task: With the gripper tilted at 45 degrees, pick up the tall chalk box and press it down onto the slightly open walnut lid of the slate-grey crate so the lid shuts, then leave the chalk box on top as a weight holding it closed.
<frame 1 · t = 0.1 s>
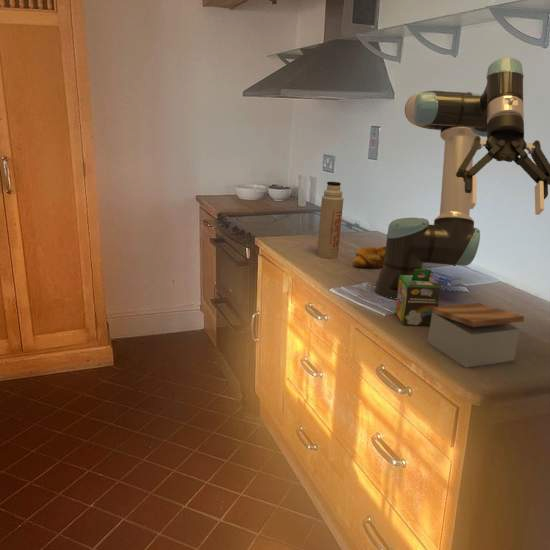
hand: (506, 209, 115), 36 cm above the countertop, tool tilted 35°, fingers open, 13 cm apart
chalk box: (414, 320, 151), on the countertop
grey crate: (469, 351, 132), on the countertop
walnut lid: (475, 313, 130), point 10 cm above the countertop, hinge at 8.0°, touching grey crate
bread roll: (367, 266, 200), on the countertop
thermos bottle: (327, 256, 210), on the countertop
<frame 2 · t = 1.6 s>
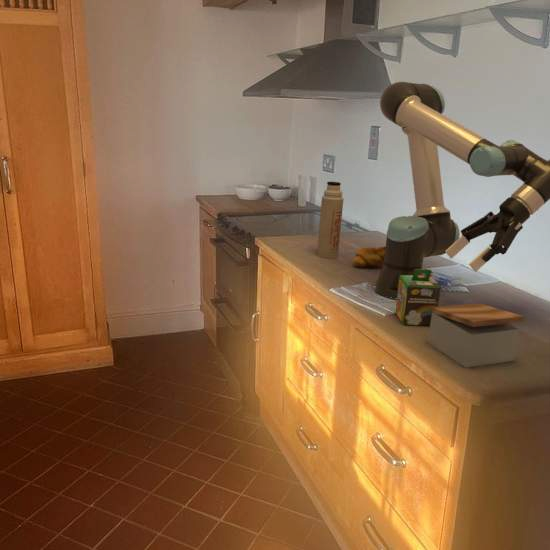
hand: (459, 261, 147), 17 cm above the countertop, tool tilted 45°, fingers open, 13 cm apart
nothing on the countertop moved.
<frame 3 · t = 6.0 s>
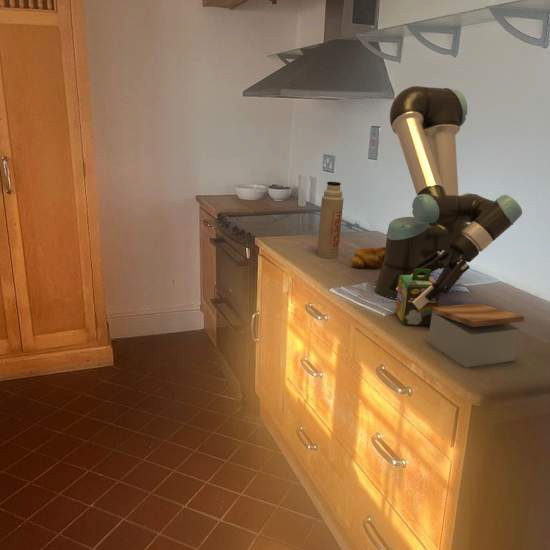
hand: (407, 299, 148), 6 cm above the countertop, tool tilted 45°, fingers closed on chalk box, 10 cm apart
chalk box: (414, 320, 151), on the countertop, touching gripper
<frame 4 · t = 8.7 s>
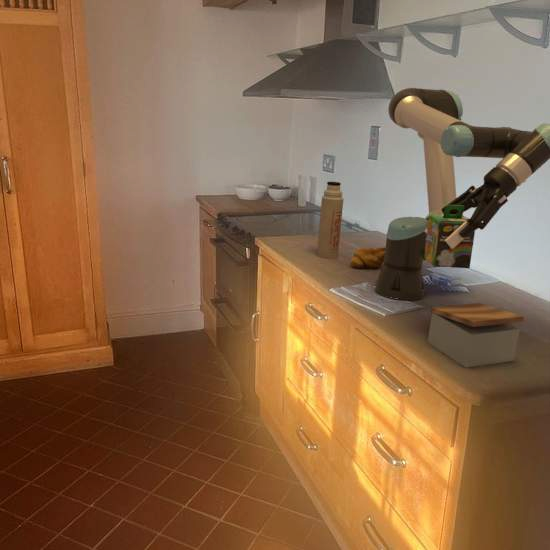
hand: (437, 239, 135), 25 cm above the countertop, tool tilted 45°, fingers closed on chalk box, 10 cm apart
chalk box: (445, 264, 137), point 18 cm above the countertop, touching gripper
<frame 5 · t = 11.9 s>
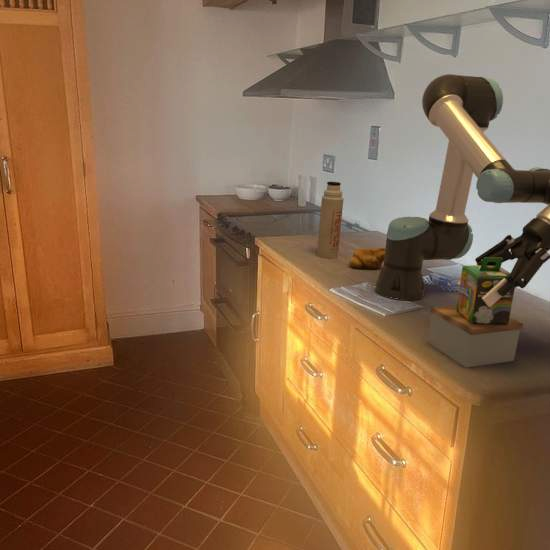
hand: (472, 295, 126), 15 cm above the countertop, tool tilted 45°, fingers closed on chalk box, 10 cm apart
chalk box: (481, 318, 128), point 9 cm above the countertop, touching gripper, walnut lid
walnut lid: (475, 317, 130), point 9 cm above the countertop, hinge at 1.1°, touching chalk box
when the fingers open (15 cm above the countertop, at t = 13.5 s): chalk box stays where it is, resting on walnut lid.
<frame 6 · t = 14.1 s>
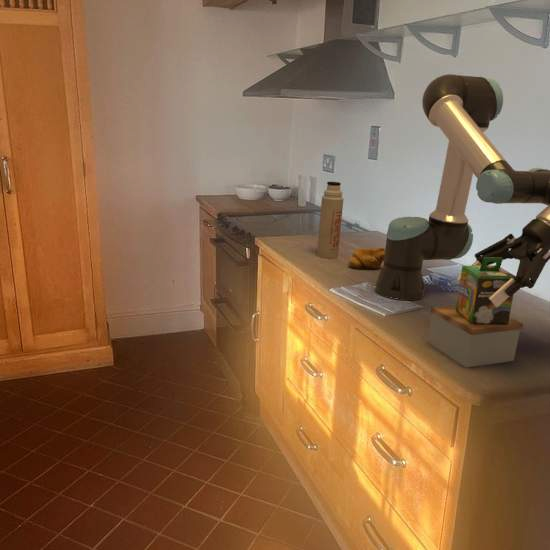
hand: (475, 292, 126), 15 cm above the countertop, tool tilted 45°, fingers open, 13 cm apart
chalk box: (480, 318, 128), point 9 cm above the countertop, touching walnut lid
walnut lid: (475, 317, 130), point 9 cm above the countertop, hinge at 1.0°, touching chalk box, grey crate
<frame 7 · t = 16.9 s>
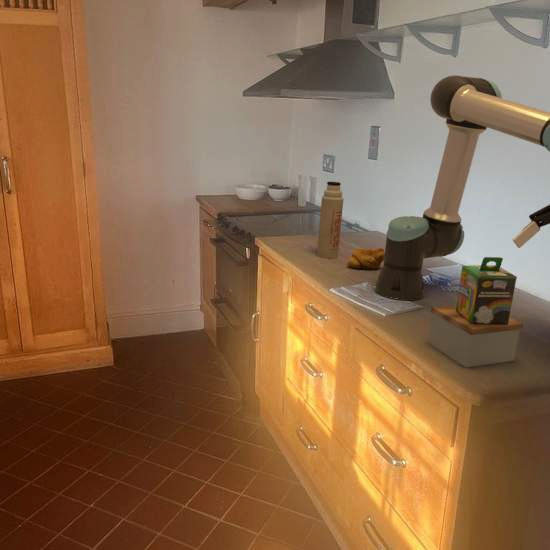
hand: (533, 251, 126), 25 cm above the countertop, tool tilted 45°, fingers open, 13 cm apart
walnut lid: (475, 317, 130), point 9 cm above the countertop, hinge at 1.1°, touching chalk box
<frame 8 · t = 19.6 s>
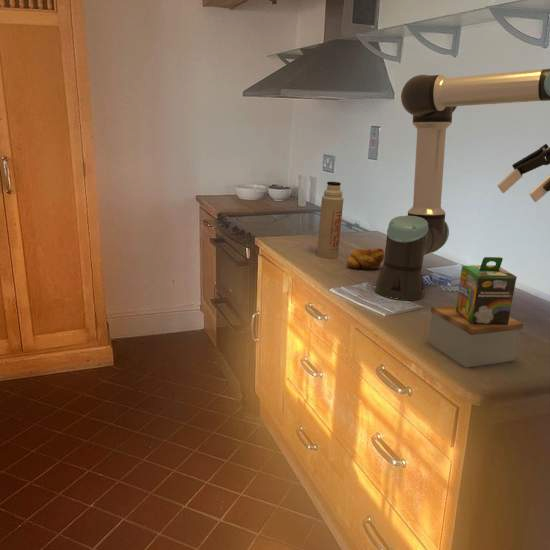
hand: (515, 193, 142), 36 cm above the countertop, tool tilted 45°, fingers open, 13 cm apart
walnut lid: (475, 317, 130), point 9 cm above the countertop, hinge at 1.1°, touching chalk box, grey crate
at the end: chalk box inside the target area on the grey crate (1.7 cm from its centre), point 9.2 cm above the grey crate's base; chalk box tilted 1°; walnut lid at +1° (first picture: +8°) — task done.
